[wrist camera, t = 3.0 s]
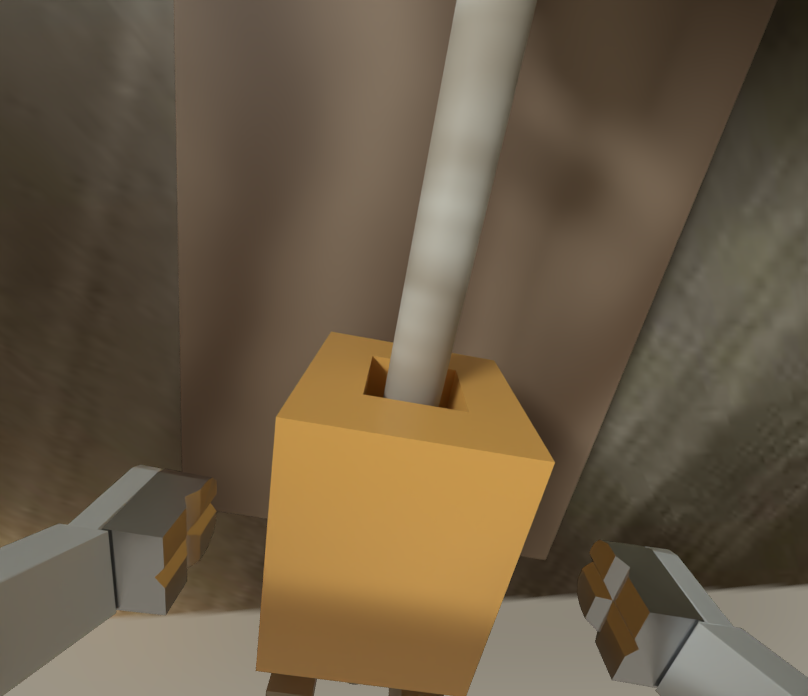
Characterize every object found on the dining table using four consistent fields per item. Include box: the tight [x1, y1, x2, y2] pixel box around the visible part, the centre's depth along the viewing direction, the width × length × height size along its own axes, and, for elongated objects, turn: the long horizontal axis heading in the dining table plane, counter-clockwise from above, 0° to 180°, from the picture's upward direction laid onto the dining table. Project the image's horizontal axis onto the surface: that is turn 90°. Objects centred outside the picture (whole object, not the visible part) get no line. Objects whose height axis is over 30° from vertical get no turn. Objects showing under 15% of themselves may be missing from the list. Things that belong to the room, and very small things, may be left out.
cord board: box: [174, 0, 777, 696], centre depth 10 cm, size 16×24×9 cm, turn 170°
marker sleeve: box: [256, 332, 555, 696], centre depth 9 cm, size 4×6×4 cm
